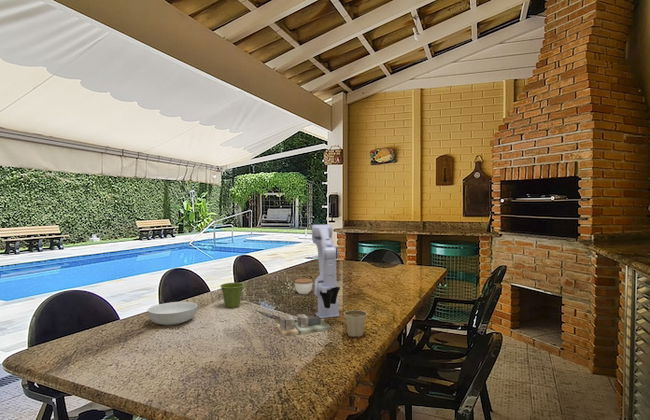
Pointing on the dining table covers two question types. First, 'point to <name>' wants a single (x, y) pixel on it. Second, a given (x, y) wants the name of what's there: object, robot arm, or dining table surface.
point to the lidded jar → (303, 285)
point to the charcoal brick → (311, 321)
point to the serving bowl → (172, 312)
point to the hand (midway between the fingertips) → (330, 305)
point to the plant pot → (232, 294)
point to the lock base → (292, 328)
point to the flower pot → (355, 322)
